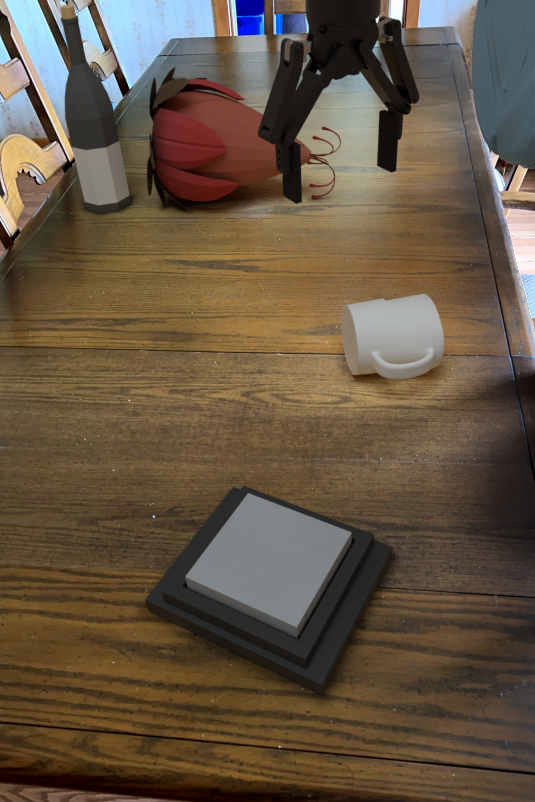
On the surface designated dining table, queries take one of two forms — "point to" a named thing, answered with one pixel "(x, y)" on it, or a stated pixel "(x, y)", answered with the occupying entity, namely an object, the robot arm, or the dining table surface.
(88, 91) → the wine bottle
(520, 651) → the dining table surface
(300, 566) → the grey tile on plinth
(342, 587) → the black stepped plinth
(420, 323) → the mug
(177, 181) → the decorative flower
